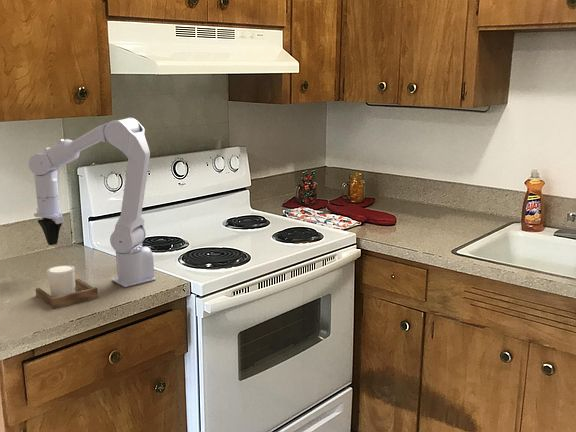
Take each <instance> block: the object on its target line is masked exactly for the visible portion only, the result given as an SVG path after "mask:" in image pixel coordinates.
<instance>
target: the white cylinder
mask: <svg viewBox="0 0 576 432" xmlns="http://www.w3.org/2000/svg"><path fill="white" fill-rule="evenodd" d="M75 272H76V267H75V266H74V265H69V264H64V265H63V264H62V265H54V266H52V267H51V266H50V267H49V268H47V269H46V275H47V279H48V284H49V290H50V294H51V295H50V296H52V297H58V296H62V295H66V294H70V293H74V292H76V291H75V289H76V283H75V278H76V277H75V276H76V273H75Z"/></svg>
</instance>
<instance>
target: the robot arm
mask: <svg viewBox="0 0 576 432" xmlns="http://www.w3.org/2000/svg"><path fill="white" fill-rule="evenodd" d="M145 132H146V131H145V128H144V126H143V125H142V124H141V123H140V122H139V121H138V120H137V119H135V118H134V117H126V118H123V119H118V120H117V119H115V120H111V121H108V122H106V123H104V124H100V125H98V126H97V127H94V128H93V129H91V130H89V131H88V132H86V133H85V134H82V135H81V136H79V137H78V138H76V139H74V140H72V139H67V138H66V139H64V138H62V139H58V140H57V142H56V144H55V145H52V146H51V147H45V148H44V149H43V152H39V153H33V155H32V156H30V158H29V159H28V168H29V171H31V172H32V174H33V175H34V183H35V193H36V194H35V195H36V203H37V204H36V205H37V207H36V208H35V209H36V213H33V217H35V218H42V219H38V220H37V223H38V225H40V228H41V229H42V231H43V234H44V236H45V239H46V243H47V245H48V246H55V245H58V242H59V235H60V230H61V227H62V226H63V224H64V223H65V220H64V216H63V214H62V210H61V203H60V202H61V201H60V194H59V193H60V192H59V184H58V176H59V175H58V172H59V171H58V170H60V168H62V167H64V166H65V165H68V164H69V163H71V162H73V161H75V160H77V159H79V156H80V153H81V152H82V151H83V150H86V149H87V148H90V147H92V146H95V145H96V144H98V143H100V142H102V143H107V142H108V143H109V144H110V145H112V146H113V147H115V149H118V150H119V151H121V152H122V153H123V154H124V155H125V157H127V159H128V160H127V165H126V174H125V178H124V179H125V181H124V187H123V196H122V202H121V208H120V209H121V210H120V216H119V218H118V220H116V223H115V226H114V231H113V232H112V233H111V235H110V239H109V242H110V246H111V248H112V249H113V250H114V251H115V260H116V272H117V273H116V274H117V277H113V278H111V280H112V281H113V282H115V283H116V284H118V285H120V286H122V287H123V288H127V287H132V286H136V285H140V284H143V283H147V282H151V281H155V280H156V277H155V264H154V254H153V252H152V250H151V248H150V247H148V246H143V242H144V240H145V239H146V236H147V234H146V232H147V231H146V229H145V219H144V218H143V217H142V212H143V207H144V206H143V205H144V197H145V194H146V193H145V191H146V184H147V177H148V171H149V165H150V156H151V151H150V148H149V144H148V141H147V139H146V136H145Z"/></svg>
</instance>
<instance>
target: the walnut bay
mask: <svg viewBox="0 0 576 432" xmlns="http://www.w3.org/2000/svg"><path fill="white" fill-rule="evenodd" d="M75 288H78V289H79V290H78V291H75V292H74V293H70V294H66V295H62V296H58V297H52V295H50V294H49V293H48V292H46V291H44V290H43V289H42V288H40V287H36V288H35V297H37V298H38V299H39V300H40V301H42V302H43V303H45V304H46V305H48V306H49V307H50V308H52V309H53V310H54V308H55V309H58V308H62V307H66V306H70V305H74V304H79V303H81V302H85V301H89V300H93V299H94V300H95V299H97V298H99V292H98V291H99V290H98V287H96V286H95V287H93V286H92V285H90V284H88V283H87V282H85V281H84V280H81V279H80V278H76V279H75Z"/></svg>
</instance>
